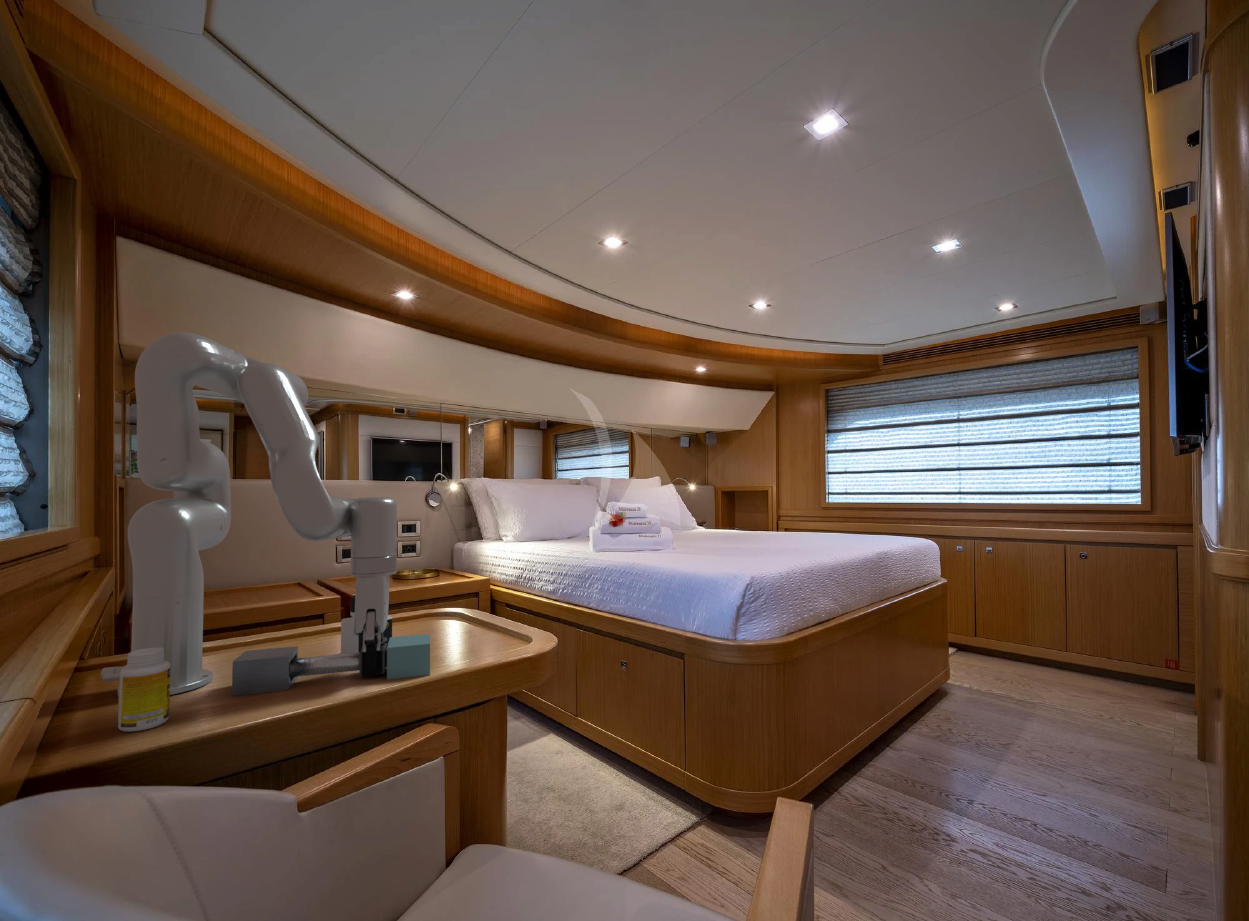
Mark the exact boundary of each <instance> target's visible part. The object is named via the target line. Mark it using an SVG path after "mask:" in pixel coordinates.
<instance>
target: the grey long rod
mask: <svg viewBox="0 0 1249 921" xmlns="http://www.w3.org/2000/svg"><path fill="white" fill-rule="evenodd" d="M380 650H382V673H381V674H380V675H384V674H385V673H386V671H387V650H386V644H385V645H381V646H380ZM362 652H363V647H362V648H361V651H360V652H358V653H348V654H341V653H340V654H329V655H327V654H326V655H319V656H318V655H317V656H308V657H298V658H295V659H292V660H291V661H290V677H298V678H299V677H307V676H318V675H326V674H327V675H328V674H336V673H346V672H347V673H348V672H355V671H359V677H363V676H362Z"/></svg>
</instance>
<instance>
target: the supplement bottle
mask: <svg viewBox="0 0 1249 921" xmlns="http://www.w3.org/2000/svg"><path fill="white" fill-rule="evenodd" d="M162 660H164V649H163V648H147V649H141V650H136V651H133V652H131V651H130V652H128V654H127V661H126V662H127V663H126V665H128V666H127V667H125V668H123V669H122V670H121V671H120V675H119V680H118V687H119V696H118V706H117V708H118V709H117V728H118V729H119V730H120V731H122V732H128V733H131V732H140V731H145V730H149V729H153V728H155V727H159V726H161V725H163V724H164V723H166V722H167V721H168V720H169V717H170V703H171V702H170V700H171V699H170V698H171V697H170V696H171V695H170V663H169V662H167V661H162Z"/></svg>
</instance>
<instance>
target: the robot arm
mask: <svg viewBox="0 0 1249 921" xmlns="http://www.w3.org/2000/svg"><path fill="white" fill-rule="evenodd" d="M134 370H135V372H134V388H135V398H136V400H135V402H136V412H137V413H136V450H137V451H136V453H137V455H136V456H137V457H136V458H137V460H136V464H137V472H138V477H139V478H140V480H141V481H142V482H143V484H145V485H146V486H147V487H150V488H152V489H155V490H157V491H158V490H160V491H169V492H170V491H171V492H173V498H163V499H157V500H154V501H151V502H148V503H145V504H144V505H143V506H141V507H140V508H139V509H137V510H136V511H135V513H134V514H133V515H132V517H131V518H130V520H129V524H128V526H127V541H128V548H129V551H130V557H131V564H132V616H131V620H132V621H131V622H132V623H131V645H130V646H131V650H130V652H133V651H136V650H141V649H147V648H163V649H164V660H162V661H167V662H169V663H170V696H173V695H176V694H181V693H185V692H188V691H193V690H196V689H198V688H201V687H203V686H205V685H207V684H209V683H210V682H211V681H212V680H213V678H214V676H213V675H214V674H213V671H211V670H209V669H203V644H204V643H203V639H204V637H203V635H204V599H205V598H204V594H205V593H204V592H205V587H204V586H205V576H204V568H203V564H202V561H201V560H202V559H201V557H200V553H199V551H204V550H207V549H212V548H213V547H216V546H217V545H219V544H220V543H222V542H223V541H224V540H225V539H226V536H227V535H228V534H229V532H230V529H231V522H232V500H231V499H232V498H231V496H232V495H231V492H232V491H231V490H232V489H231V471H230V469H231V468H230V464H229V461H228V459H227V457H226V455H225V453H224V451H223V450H221V449H220V448H219V447H217V445H215V444H213V443H210V442H208V441H205V440H201V435H200V411H199V407H198V404H197V401H196V398H195V395H194V392H193V390H194V389H193V388H194V386H197V387H199V388H203V389H206V390H208V391H211V392H213V393H217V394H221V395H222V396H227V397H229V398H231V399H234V400H236V401H239V402H242V403H243V405H244V407H245V409H246V412H247V413H248V415H249V418H250V419H251V421H252V423H253V425H254V427H255V429H256V431H257V433H258V436H259V438H260V440H261V442H262V444H263V446H264V449H265V450H266V452H267V456H268V468H269V474H270V475H269V476H270V482H271V486H272V490H273V492H274V496H275V498H276V500H277V502H278V504H279V506H280V508H281V511H282V513H283V515H284V516H285V518H286V521H287V522H288V524H289V526H290V527H291V528H292V530H293V531H294V532H295V533H296V534H297V535H298V536H299V537H301V538H302V539H304V540H306V541H310V542H321V541H329V540H332V539H338V538H344V537H349V536H350V577H352V578H356V583H355V584H356V585H355V593H354V595H355V618H354V634H355V635H356V636H357V635H359V633H361V632H362V630H363V652H362V676H361V677H368V676H377V675H382V674H381V673H382V650H380V646H381V645H384V643H383V632H384V630H385V628H386V624H387V618H388V616H389V604H390V576H392V575H396V574H397V565H398V564H397V557H398V556H397V553H398V552H397V551H398V550H397V546H398V545H397V544H398V543H397V536H398V535H397V534H398V531H397V530H398V528H397V525H398V523H397V522H398V521H397V520H398V519H397V518H398V509H397V506H398V505H397V501H396V500H395V499H394V498H392V497H388V496H387V497H385V496H371V497H369V496H368V497H358V498H349V497H343V496H342V497H340V496H330V495H329V493H328V491H327V489H326V488H325V485H324V482H323V481H322V479H321V477H320V474H319V472H318V467H317V464H316V462H317V461H316V452H317V449H318V447H319V444H320V435H319V434H318V430H317V429H316V427H315V426H314V424H313V422H312V420H311V417H310V416H309V413H308V411H307V409H306V406H307V404H308V400H309V391H308V387H307V385H306V383H305V382H304V380H303V379H302V378H301V377H300V376H298V375H297V374H295V373H293V372H292V371H290V370H287V369H285V368H284V367H281V366H280V365H277V364H275V363H270V362H261V361H260V360H257V359H255V358H253V357H250V356H248V355H245V354H242V353H240V352H238V351H236V350H234V349H232V348H229V347H227V346H226V345H223V344H222V343H219V342H217V341H215V340H213V339H211V338H209V337H206V336H204V335H201V334H197V333H194V332H188V331H187V332H184V331H181V332H172V333H168V334H164V335H162V336H160V337H159V338H157V339H155V340H154V341H152V342H151V343H149V344H148V346H146V348H144V350H143V351H142V353H141V354H140V356H139V357H138V360H137V363H136V366H135V369H134ZM127 666H128V665H127V664H126V665H124V666H110V667H103V668H102V670H101V672H100V679H101V680H102V682H103V683H107V682H115V681H119V675H120V671H121V670H122V669H123V668H125V667H127ZM117 697H119V686H118V687H117Z"/></svg>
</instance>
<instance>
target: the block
mask: <svg viewBox="0 0 1249 921" xmlns="http://www.w3.org/2000/svg"><path fill="white" fill-rule="evenodd" d="M430 675H431V633H425V634H424V633H423V634H412V635H403V636H402V635H400V636H392V637H390V639H389V643H388V647H387V667H386V680H388V681H389V680H390V681H391V680H396V679H407V678H415V677H425V676H430Z"/></svg>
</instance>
